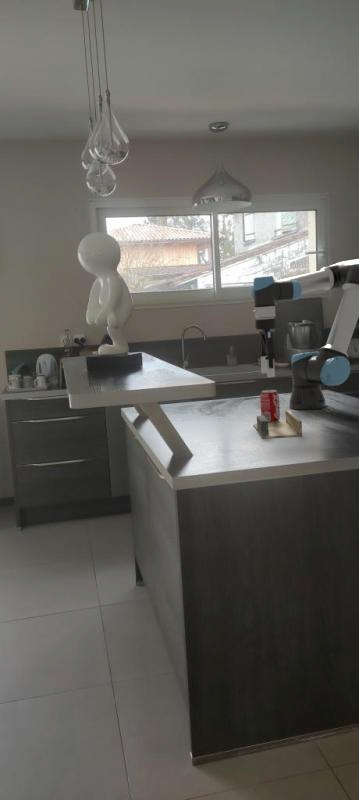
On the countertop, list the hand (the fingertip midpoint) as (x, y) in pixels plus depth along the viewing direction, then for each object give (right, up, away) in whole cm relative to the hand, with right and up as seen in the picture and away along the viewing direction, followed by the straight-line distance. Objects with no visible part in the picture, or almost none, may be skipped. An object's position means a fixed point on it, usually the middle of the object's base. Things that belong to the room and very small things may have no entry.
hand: (268, 375), depth 219 cm
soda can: (+2, -18, +3) cm, 18 cm away
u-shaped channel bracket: (+1, -20, -13) cm, 24 cm away
